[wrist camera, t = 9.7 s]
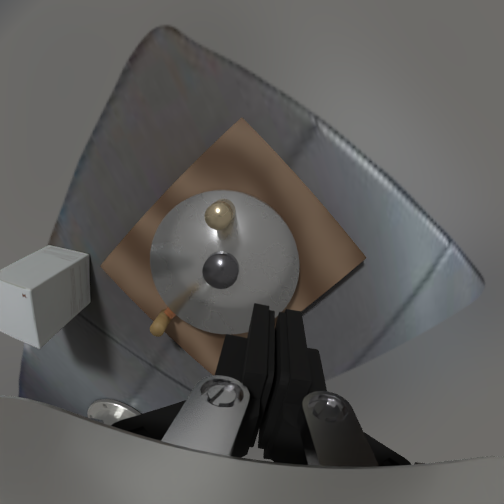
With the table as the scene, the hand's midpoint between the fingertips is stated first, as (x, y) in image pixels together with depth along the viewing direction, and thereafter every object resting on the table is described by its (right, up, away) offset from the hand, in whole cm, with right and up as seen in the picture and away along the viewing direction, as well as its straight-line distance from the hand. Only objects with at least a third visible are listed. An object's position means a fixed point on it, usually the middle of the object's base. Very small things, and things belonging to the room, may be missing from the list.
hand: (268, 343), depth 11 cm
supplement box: (-25, 0, +28) cm, 38 cm away
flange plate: (-4, +2, +24) cm, 24 cm away
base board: (-3, +2, +26) cm, 26 cm away
